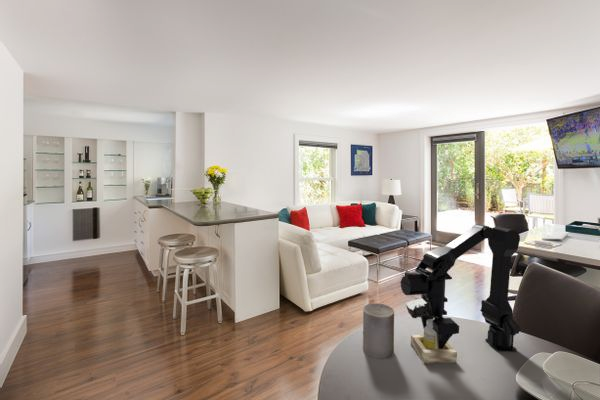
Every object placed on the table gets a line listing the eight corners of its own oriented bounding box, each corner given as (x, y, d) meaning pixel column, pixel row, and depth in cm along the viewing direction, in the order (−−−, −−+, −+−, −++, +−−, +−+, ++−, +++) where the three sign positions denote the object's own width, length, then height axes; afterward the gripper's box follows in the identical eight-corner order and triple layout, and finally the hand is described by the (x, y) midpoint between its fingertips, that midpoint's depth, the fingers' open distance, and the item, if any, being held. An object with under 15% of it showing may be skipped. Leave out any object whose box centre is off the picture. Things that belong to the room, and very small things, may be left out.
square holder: (440, 344, 98) (440, 334, 98) (456, 363, 88) (457, 352, 88) (410, 344, 98) (410, 334, 98) (423, 363, 88) (424, 352, 88)
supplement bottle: (438, 347, 96) (439, 318, 95) (444, 357, 90) (445, 326, 90) (421, 346, 96) (421, 317, 95) (426, 356, 91) (427, 325, 90)
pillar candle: (379, 339, 101) (379, 297, 100) (400, 354, 93) (401, 308, 92) (356, 346, 97) (356, 302, 96) (376, 363, 88) (377, 315, 87)
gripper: (398, 282, 101) (397, 325, 102) (422, 305, 82) (420, 358, 83) (430, 282, 101) (428, 325, 102) (461, 305, 83) (459, 358, 84)
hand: (432, 340), depth 93 cm, fingers open, 9 cm apart
